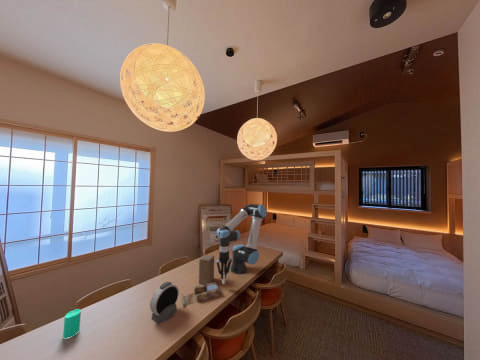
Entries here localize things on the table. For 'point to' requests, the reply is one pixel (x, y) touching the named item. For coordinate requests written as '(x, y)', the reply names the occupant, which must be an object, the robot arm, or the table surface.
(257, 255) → the robot arm
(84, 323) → the table surface
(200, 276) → the wooden block
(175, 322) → the table surface
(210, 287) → the block
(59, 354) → the table surface
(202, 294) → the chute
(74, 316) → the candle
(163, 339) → the table surface
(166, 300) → the alarm clock
